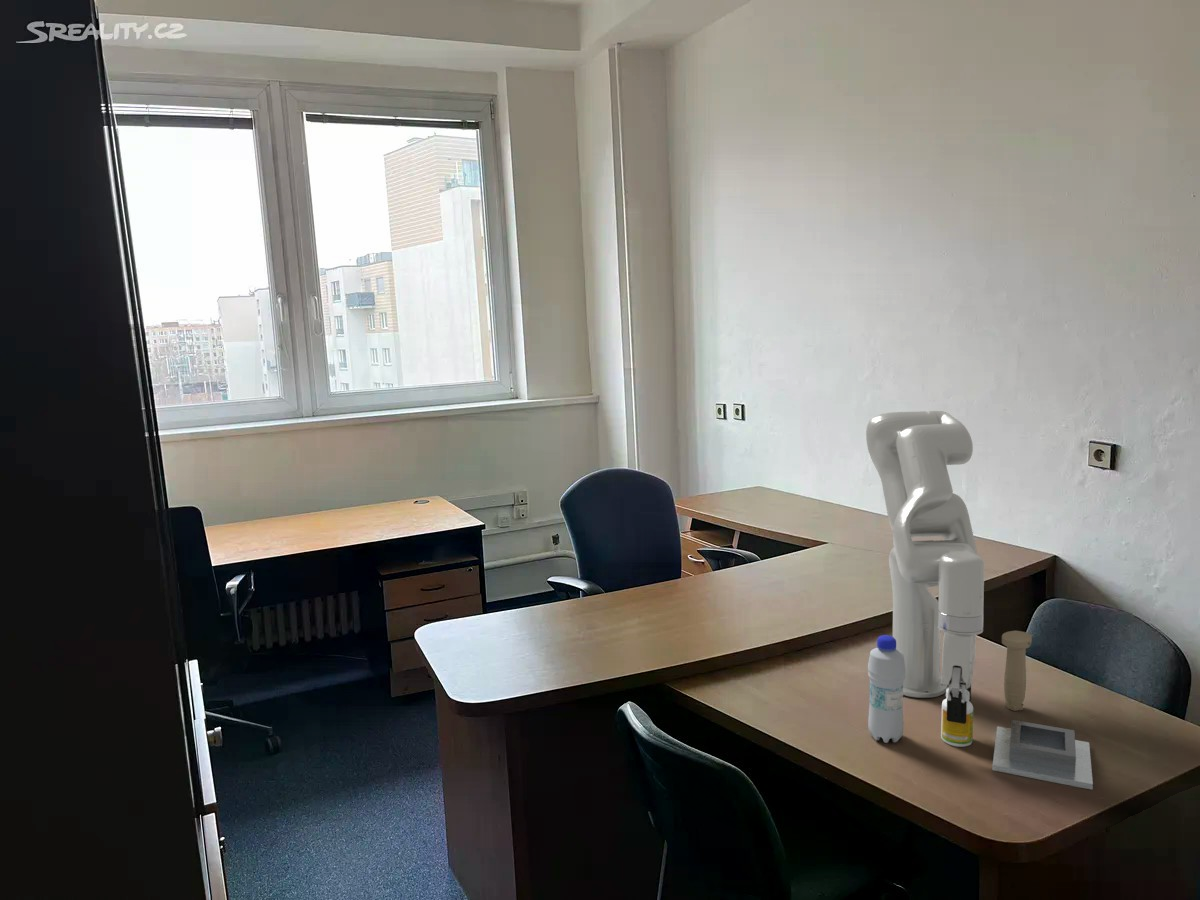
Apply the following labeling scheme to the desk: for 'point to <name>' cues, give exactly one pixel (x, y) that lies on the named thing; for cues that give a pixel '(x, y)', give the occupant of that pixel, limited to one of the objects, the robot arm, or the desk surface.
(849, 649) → the desk surface
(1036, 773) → the socket
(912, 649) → the robot arm
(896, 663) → the bottle
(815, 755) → the desk surface
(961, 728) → the supplement bottle
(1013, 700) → the handle
